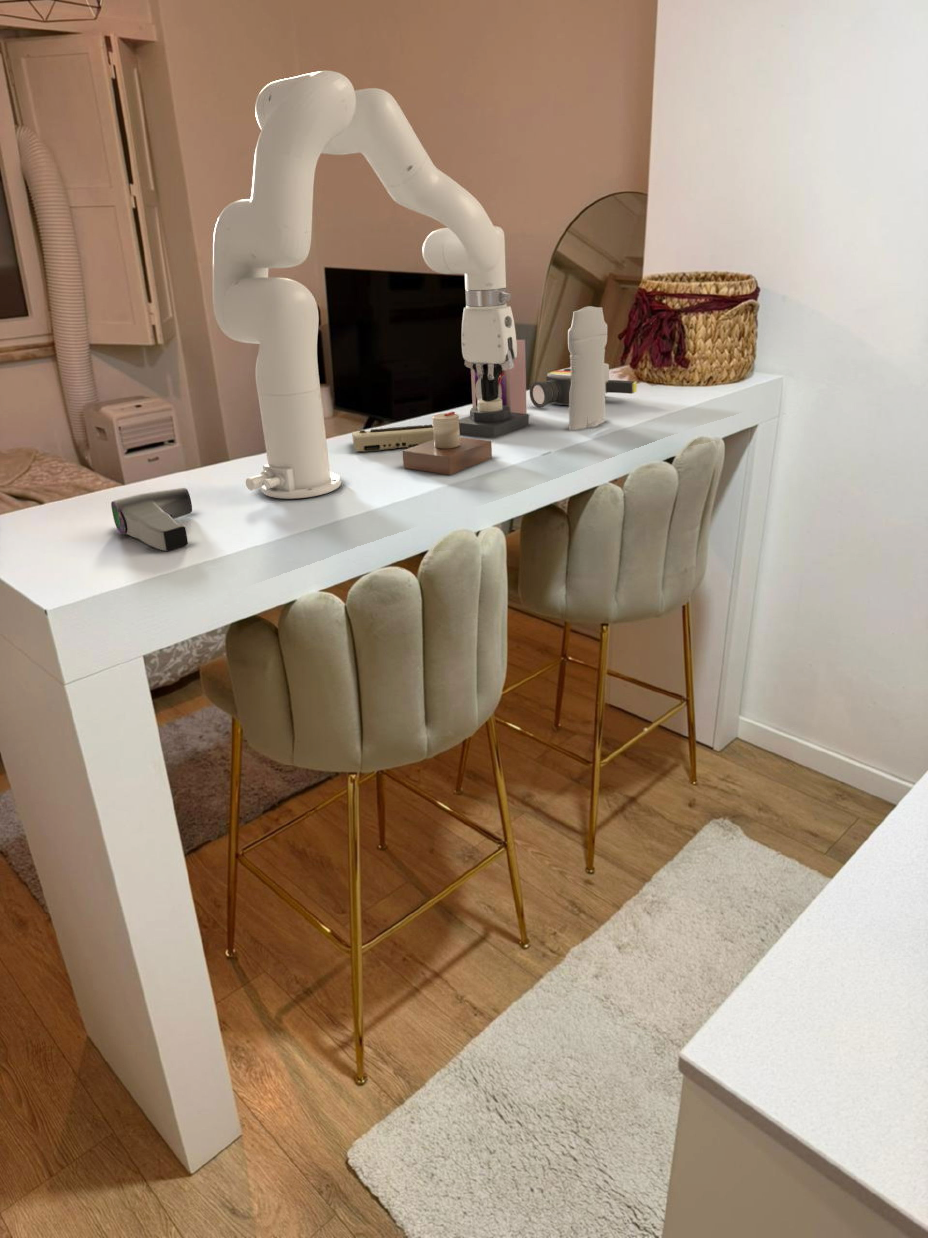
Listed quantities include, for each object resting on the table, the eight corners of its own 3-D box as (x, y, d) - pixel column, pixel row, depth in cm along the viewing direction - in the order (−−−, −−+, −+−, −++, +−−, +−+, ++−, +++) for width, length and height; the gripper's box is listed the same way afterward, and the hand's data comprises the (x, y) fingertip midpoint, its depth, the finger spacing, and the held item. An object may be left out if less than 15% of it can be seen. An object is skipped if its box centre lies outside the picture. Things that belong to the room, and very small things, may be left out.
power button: (493, 414, 169) (492, 403, 168) (472, 411, 172) (472, 401, 171) (507, 409, 172) (506, 398, 172) (487, 407, 175) (486, 396, 174)
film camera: (574, 420, 181) (528, 408, 192) (642, 401, 190) (594, 390, 201) (573, 386, 177) (526, 375, 189) (643, 368, 187) (594, 359, 198)
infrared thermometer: (159, 560, 117) (109, 530, 127) (239, 535, 125) (186, 509, 134) (154, 528, 115) (102, 499, 125) (235, 505, 123) (181, 480, 132)
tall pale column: (576, 431, 168) (577, 309, 159) (560, 429, 171) (560, 308, 162) (613, 421, 174) (615, 303, 165) (597, 419, 177) (598, 302, 168)
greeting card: (469, 415, 186) (466, 341, 180) (495, 409, 190) (492, 336, 184) (508, 422, 178) (506, 345, 172) (533, 415, 183) (532, 340, 176)
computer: (434, 436, 170) (433, 418, 169) (440, 445, 163) (439, 427, 162) (353, 443, 169) (351, 426, 167) (355, 453, 161) (353, 435, 160)
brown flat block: (450, 475, 145) (449, 457, 144) (403, 467, 151) (402, 450, 149) (492, 458, 153) (491, 440, 152) (446, 451, 159) (445, 435, 158)
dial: (449, 449, 148) (447, 417, 146) (429, 446, 150) (427, 415, 148) (465, 443, 151) (463, 412, 149) (445, 441, 154) (443, 410, 151)
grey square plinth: (494, 438, 167) (493, 417, 165) (452, 433, 172) (450, 412, 170) (528, 425, 175) (528, 404, 173) (487, 420, 181) (486, 400, 179)
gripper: (531, 297, 162) (533, 398, 170) (465, 296, 170) (470, 393, 178) (508, 302, 157) (511, 406, 164) (441, 300, 165) (447, 400, 173)
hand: (490, 399), depth 171 cm, fingers closed
